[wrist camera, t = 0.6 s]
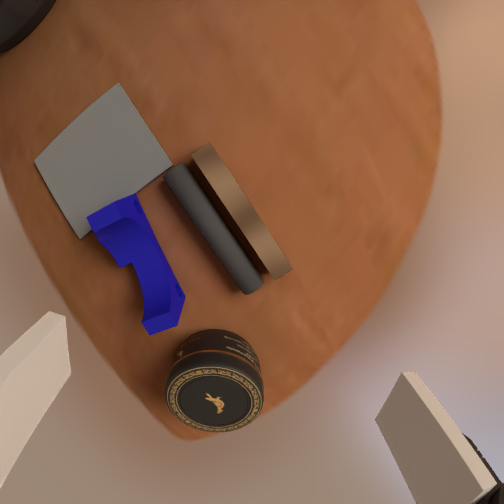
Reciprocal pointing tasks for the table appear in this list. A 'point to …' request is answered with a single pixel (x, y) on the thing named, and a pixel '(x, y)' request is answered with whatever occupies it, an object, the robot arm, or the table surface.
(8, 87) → the table surface
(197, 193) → the rod
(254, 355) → the jar
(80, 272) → the table surface
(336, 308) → the table surface
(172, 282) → the cable clip
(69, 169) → the mat
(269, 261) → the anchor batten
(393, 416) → the robot arm
